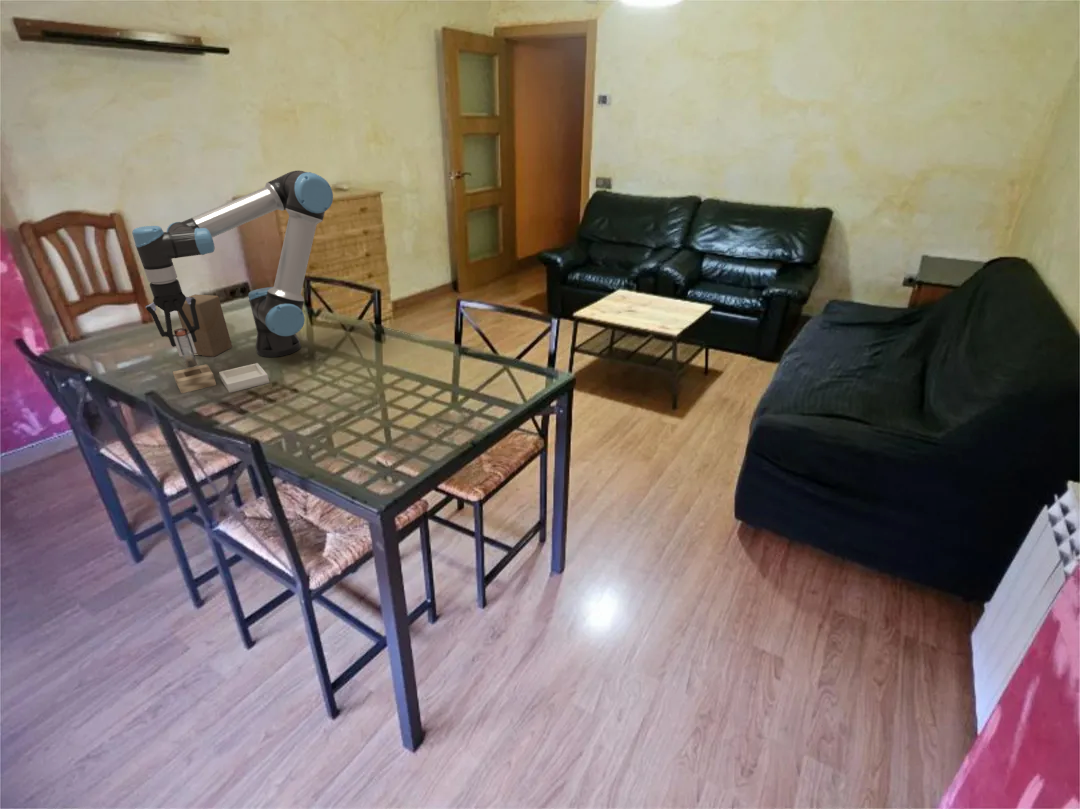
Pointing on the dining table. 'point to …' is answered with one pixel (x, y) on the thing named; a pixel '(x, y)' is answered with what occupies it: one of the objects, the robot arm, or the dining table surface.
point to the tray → (243, 377)
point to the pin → (185, 347)
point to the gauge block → (194, 378)
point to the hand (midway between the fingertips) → (187, 353)
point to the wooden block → (208, 325)
